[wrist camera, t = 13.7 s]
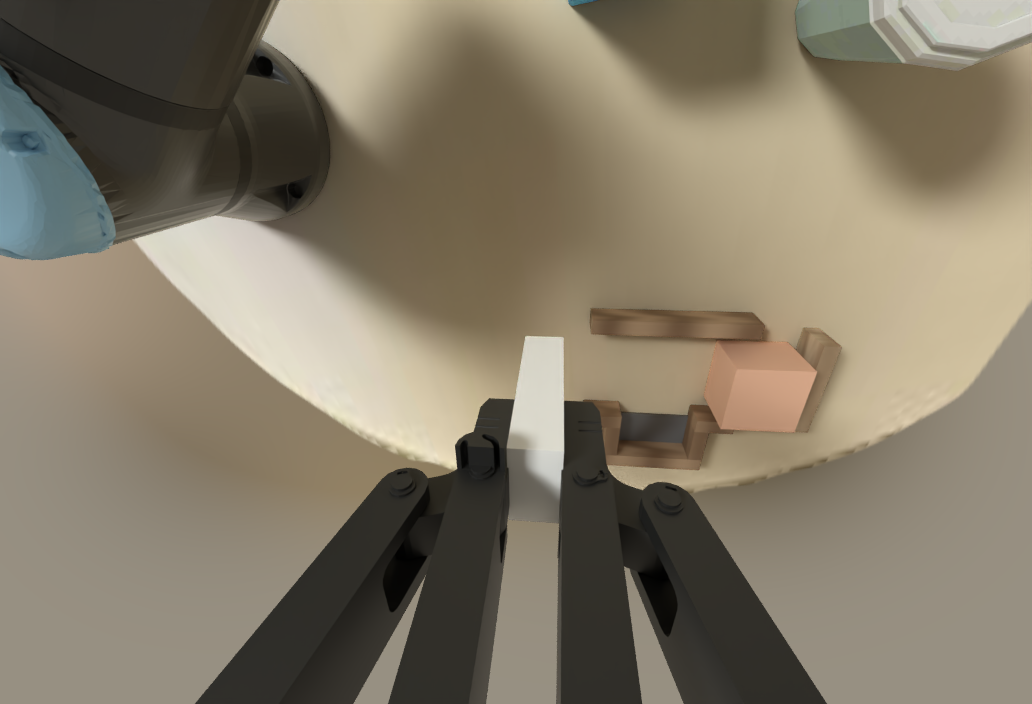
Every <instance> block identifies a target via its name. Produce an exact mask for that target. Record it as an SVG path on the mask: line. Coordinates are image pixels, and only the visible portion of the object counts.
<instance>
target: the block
mask: <svg viewBox="0 0 1032 704" xmlns="http://www.w3.org/2000/svg"><path fill="white" fill-rule="evenodd" d="M816 374H817V371H816V370H815V369H814V368H813V367H812V366H811V365H810V364H809V363H808V362H807V361H806V360H805V359H804V358H803V357H802V356H801V355H800V354H799V353H798V352H797V351H796V350H795V349H794V348H793V347H792V346H791V345H790V344H789V343H788V342H768V341H733V340H717V341H716V346H715V350H714V354H713V358H712V363H711V367H710V371H709V375H708V379H707V384H706V388H705V392H704V397H705V399H706V401H707V403H708V405H709V407H710V409H711V411H712V413H713V415H714V417H715V419H716V421H717V423H718V425H719V427H720V429H730V430H751V431H772V432H793V433H794V432H795V429H796V427H797V424H798V422H799V419H800V416H801V414H802V411H803V408H804V406H805V403H806V401H807V398H808V395H809V393H810V390H811V387H812V385H813V382H814V380H815V377H816Z"/></svg>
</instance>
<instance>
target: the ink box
mask: <svg viewBox="0 0 1032 704" xmlns="http://www.w3.org/2000/svg"><path fill="white" fill-rule="evenodd" d="M593 1H597V0H568V2H569V5H571V6H574V5H579V4H584V3H589V2H593Z"/></svg>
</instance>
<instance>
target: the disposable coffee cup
mask: <svg viewBox="0 0 1032 704" xmlns="http://www.w3.org/2000/svg"><path fill="white" fill-rule="evenodd" d="M795 17H796V26H797V36H798V39H799V41H800V42H801V43H802V44H803V45H804V46H805V47H806V48H807V50H808V51H809V52H810V53H811V54H812V55H813V56H814V57H820V58H827V59H834V60H847V61H866V62H885V63H904V64H912V65H919V66H926V67H933V68H940V69H947V70H954V71H959V70H961V69H964V68H966V67H969V66H972V65H974V64H977V63H980V62H982V61H985V60H987V59H990V58H992V57H995V56H998V55H1000V54H1003V53H1005V52H1008V51H1010V50H1013V49H1016V48H1018V47H1021V46H1023V45H1026V44H1028V43H1031V42H1032V0H799V2H798V5H797V8H796V11H795Z"/></svg>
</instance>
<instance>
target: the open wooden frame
mask: <svg viewBox="0 0 1032 704" xmlns="http://www.w3.org/2000/svg"><path fill="white" fill-rule="evenodd" d="M590 327H591V334H598V335H629V336H661V337H693V338H724V339H756V340H761V337H762V334H763V331H764V327H765V325H764V324H763V323H762V322H761V321H760V320H759V319H758V318H757V317H756V316H755V315H754V314H753V313H748V312H710V311H671V310H633V309H595V308H591V312H590ZM841 348H842V347H841V346H840V345H839V344H838V343H836V342H835V341H834V340H833V339H832V338H830V337H829V336H828V335H827V334H826V333H824V332H823V331H822V330H821V329H819V328H803V330H802V333H801V336H800V339H799V342H798V345H797V348H796V351H797V352H798V353H799V354H800V355H801V356H802V357H803V358H804V359H805V360H806V361H807V362H808V363H809V364H810V365H811V366H812V367H813V368H814V369H815V370H816V371H817V374H816V377H815V380H814V382H813V385H812V387H811V390H810V393H809V395H808V398H807V401H806V403H805V406H804V408H803V411H802V414H801V416H800V419H799V422H798V424H797V427H796V429H795V432H808V430H809V427H810V425H811V422H812V420H813V418H814V415H815V413H816V410H817V408H818V405H819V403H820V400H821V398H822V395H823V393H824V390H825V388H826V385H827V383H828V380H829V378H830V375H831V373H832V371H833V368H834V366H835V363H836V361H837V358H838V356H839V353H840V351H841ZM583 402H593V403H594V405H595V406H596V407H597V409H598V410H599V411H600V416H601V424H602V427H603V428H602V433H603V440H604V448H605V455H606V463H607V465H617V466H635V467H652V468H669V469H686V470H699V469H700V465H701V461H702V457H703V453H704V450H705V446H706V442H707V438H708V434H709V433H723V434H733V432H734V430H730V429H720V427H719V425H718V423H717V421H716V419H715V417H714V415H713V413H712V411H711V409H710V407H709V406H707V405H690V407H689V412H688V415H670V414H649V413H628V412H621V411H620V406H619V401H597V400H584V401H583Z"/></svg>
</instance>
